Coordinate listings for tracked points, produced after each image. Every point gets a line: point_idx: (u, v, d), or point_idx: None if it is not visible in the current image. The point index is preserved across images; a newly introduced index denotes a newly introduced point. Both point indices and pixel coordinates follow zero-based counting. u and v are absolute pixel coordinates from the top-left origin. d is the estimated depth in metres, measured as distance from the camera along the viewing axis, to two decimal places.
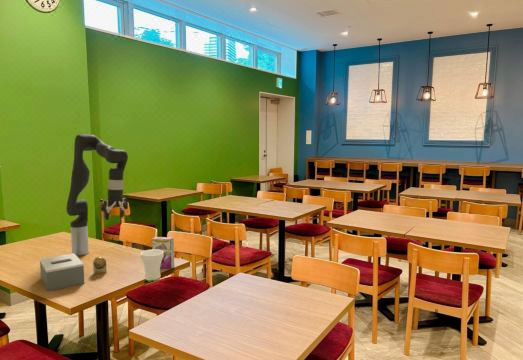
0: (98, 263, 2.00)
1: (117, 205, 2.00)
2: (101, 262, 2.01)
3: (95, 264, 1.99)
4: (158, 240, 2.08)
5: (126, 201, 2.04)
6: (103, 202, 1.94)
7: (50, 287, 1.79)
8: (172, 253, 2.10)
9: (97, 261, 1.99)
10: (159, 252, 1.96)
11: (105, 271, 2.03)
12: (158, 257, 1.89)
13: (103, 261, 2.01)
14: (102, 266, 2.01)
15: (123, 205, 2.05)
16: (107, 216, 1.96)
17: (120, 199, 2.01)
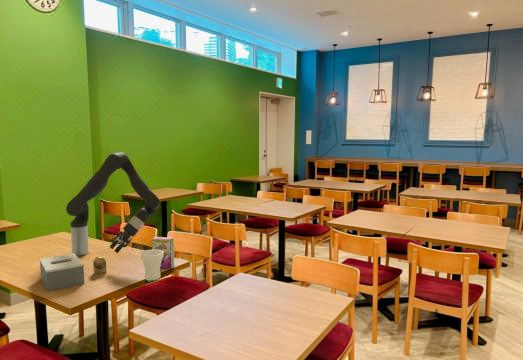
0: (98, 263, 2.00)
1: None
2: (101, 262, 2.01)
3: (95, 264, 1.99)
4: (158, 240, 2.08)
5: None
6: (129, 239, 2.03)
7: (50, 287, 1.79)
8: (172, 253, 2.10)
9: (97, 261, 1.99)
10: (159, 252, 1.96)
11: (105, 271, 2.03)
12: (158, 257, 1.89)
13: (103, 261, 2.01)
14: (102, 266, 2.01)
15: (116, 237, 2.11)
16: (119, 250, 2.02)
17: None
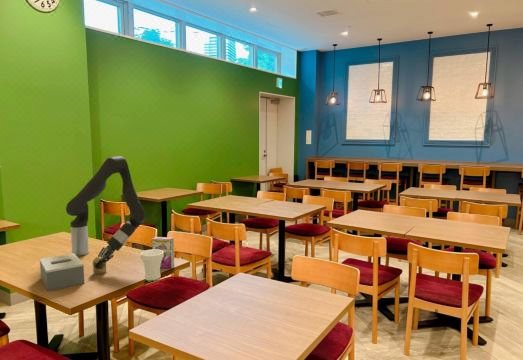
0: None
1: None
2: None
3: (95, 264, 1.99)
4: (158, 240, 2.08)
5: None
6: (110, 256, 1.98)
7: (50, 287, 1.79)
8: (172, 253, 2.10)
9: (97, 261, 1.99)
10: (159, 252, 1.96)
11: (105, 271, 2.02)
12: (158, 257, 1.89)
13: None
14: (102, 266, 2.01)
15: None
16: (100, 265, 2.00)
17: None
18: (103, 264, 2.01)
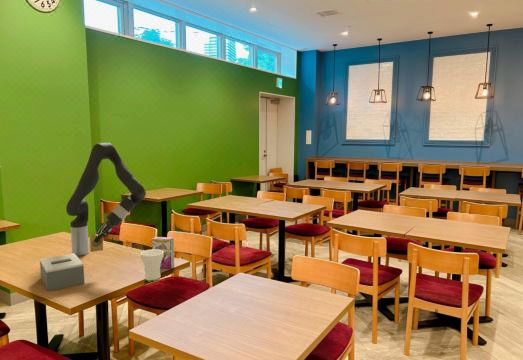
0: None
1: None
2: None
3: (91, 241, 1.97)
4: (158, 240, 2.08)
5: None
6: (109, 231, 1.97)
7: (50, 287, 1.79)
8: (172, 253, 2.10)
9: (93, 238, 1.97)
10: (159, 252, 1.96)
11: (101, 249, 2.00)
12: (158, 257, 1.89)
13: None
14: (98, 243, 1.99)
15: None
16: (99, 240, 1.98)
17: None
18: (100, 241, 1.99)
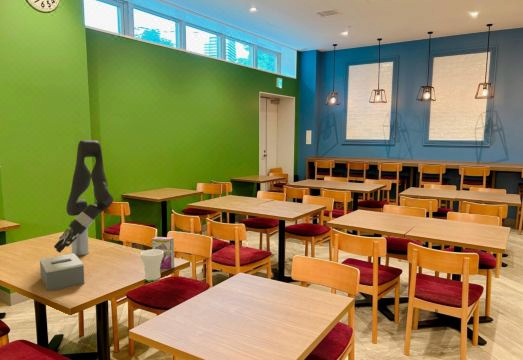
0: None
1: None
2: None
3: None
4: (158, 240, 2.08)
5: None
6: (73, 238, 1.86)
7: (50, 287, 1.79)
8: (172, 253, 2.10)
9: None
10: (159, 252, 1.96)
11: None
12: (158, 257, 1.89)
13: None
14: None
15: None
16: (62, 249, 1.86)
17: None
18: None
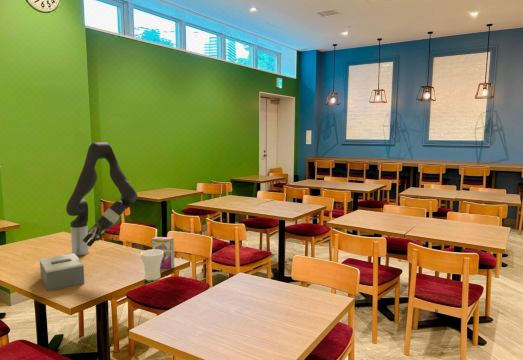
0: None
1: None
2: None
3: None
4: (158, 240, 2.08)
5: None
6: (103, 232, 1.94)
7: (50, 287, 1.79)
8: (172, 253, 2.10)
9: None
10: (159, 252, 1.96)
11: None
12: (158, 257, 1.89)
13: None
14: None
15: (90, 230, 2.03)
16: (92, 243, 1.94)
17: None
18: None
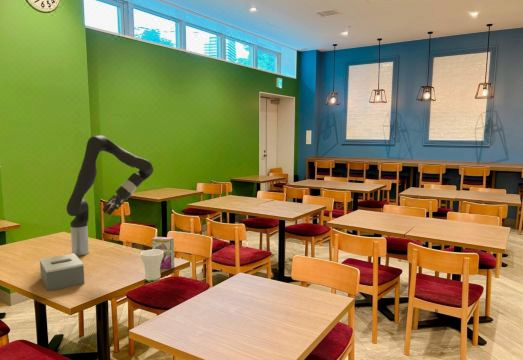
0: None
1: None
2: None
3: None
4: (158, 240, 2.08)
5: None
6: (122, 201, 2.05)
7: (50, 287, 1.79)
8: (172, 253, 2.10)
9: None
10: (159, 252, 1.96)
11: None
12: (158, 257, 1.89)
13: None
14: None
15: None
16: None
17: None
18: None
